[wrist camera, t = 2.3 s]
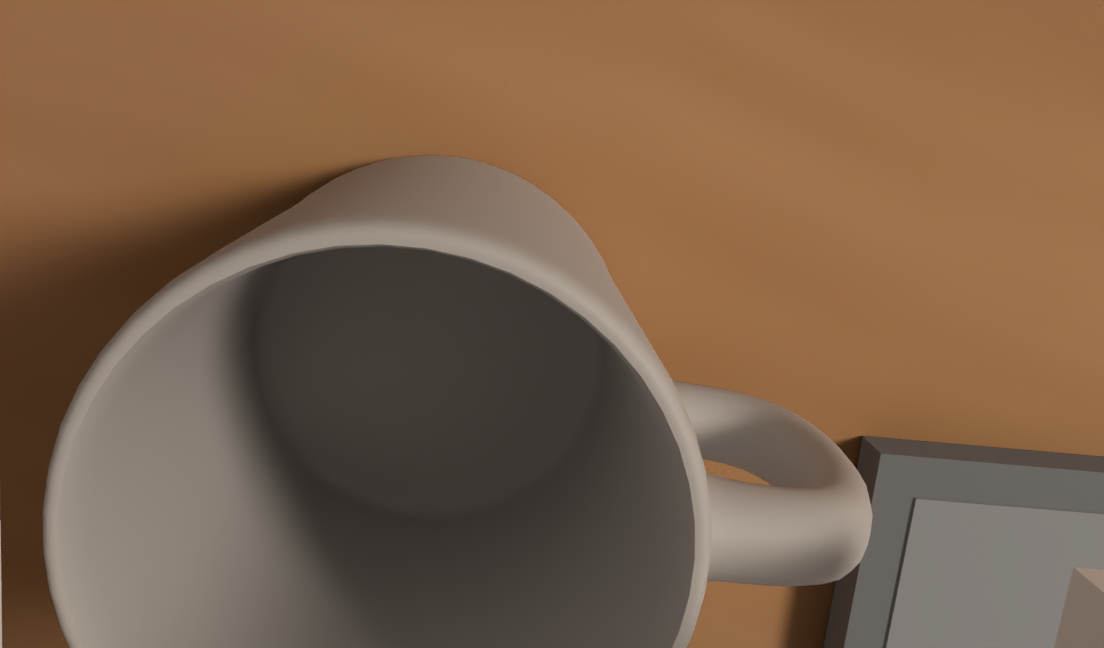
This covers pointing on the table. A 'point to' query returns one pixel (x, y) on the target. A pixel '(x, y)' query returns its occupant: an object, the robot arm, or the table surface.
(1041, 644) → the coaster
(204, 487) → the mug
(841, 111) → the table surface
